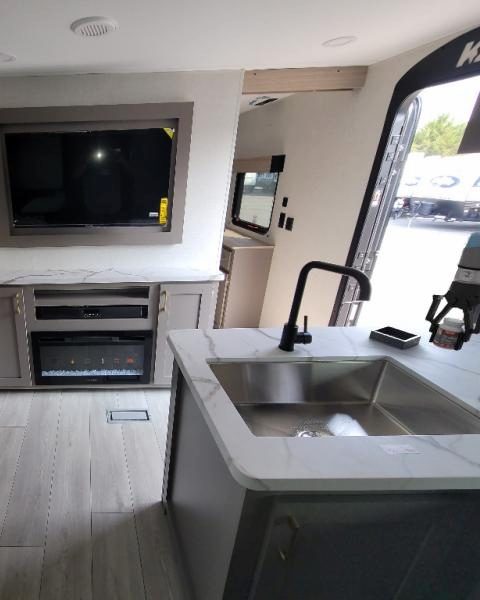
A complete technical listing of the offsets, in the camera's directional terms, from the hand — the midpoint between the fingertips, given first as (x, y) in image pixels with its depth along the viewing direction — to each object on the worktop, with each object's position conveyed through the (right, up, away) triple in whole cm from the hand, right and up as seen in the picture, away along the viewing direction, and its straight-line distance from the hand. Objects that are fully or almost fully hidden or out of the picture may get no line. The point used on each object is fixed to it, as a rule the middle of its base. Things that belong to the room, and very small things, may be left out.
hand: (444, 345), depth 112 cm
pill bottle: (0, -1, 0) cm, 1 cm away
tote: (+4, -1, +22) cm, 23 cm away
